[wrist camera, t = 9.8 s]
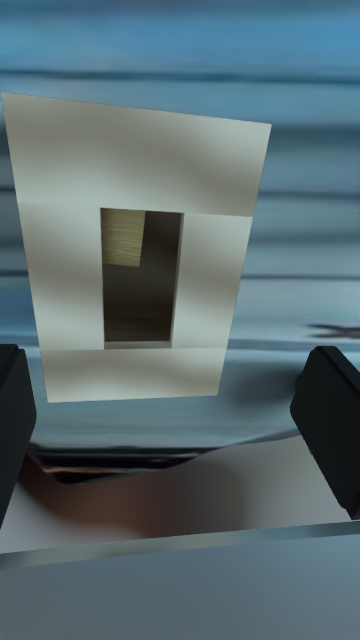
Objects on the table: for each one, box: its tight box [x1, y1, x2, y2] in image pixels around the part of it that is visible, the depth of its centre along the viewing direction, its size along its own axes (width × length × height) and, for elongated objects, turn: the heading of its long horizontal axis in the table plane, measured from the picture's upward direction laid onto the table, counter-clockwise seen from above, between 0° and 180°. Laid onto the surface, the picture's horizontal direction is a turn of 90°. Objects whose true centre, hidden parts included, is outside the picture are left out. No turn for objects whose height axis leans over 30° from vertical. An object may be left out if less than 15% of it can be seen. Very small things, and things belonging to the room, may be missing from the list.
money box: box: [1, 92, 272, 403], centre depth 21 cm, size 16×11×10 cm
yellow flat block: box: [100, 208, 146, 267], centre depth 23 cm, size 5×2×6 cm
